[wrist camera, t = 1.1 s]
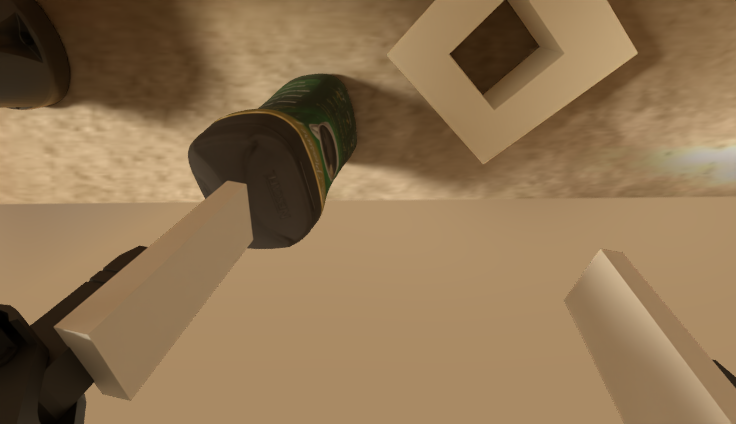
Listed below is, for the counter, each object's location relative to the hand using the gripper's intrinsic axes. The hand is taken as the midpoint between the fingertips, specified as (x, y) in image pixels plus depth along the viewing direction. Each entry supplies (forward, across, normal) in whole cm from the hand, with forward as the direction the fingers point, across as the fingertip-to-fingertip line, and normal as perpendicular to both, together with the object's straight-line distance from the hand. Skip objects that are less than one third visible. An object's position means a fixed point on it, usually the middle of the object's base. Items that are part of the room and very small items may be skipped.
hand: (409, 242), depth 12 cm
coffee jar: (+24, -10, -4) cm, 27 cm away
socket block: (+24, +6, +6) cm, 25 cm away
